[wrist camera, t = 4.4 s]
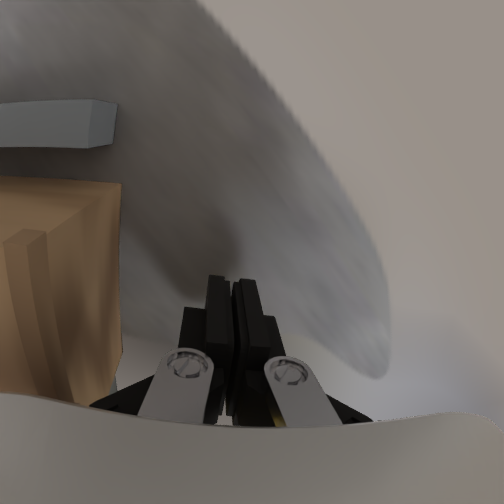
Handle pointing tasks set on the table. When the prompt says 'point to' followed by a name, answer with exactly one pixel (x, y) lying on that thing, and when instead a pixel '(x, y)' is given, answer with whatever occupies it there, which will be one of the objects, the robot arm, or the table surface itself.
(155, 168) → the table surface
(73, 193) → the block
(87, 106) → the bay
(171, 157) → the table surface
